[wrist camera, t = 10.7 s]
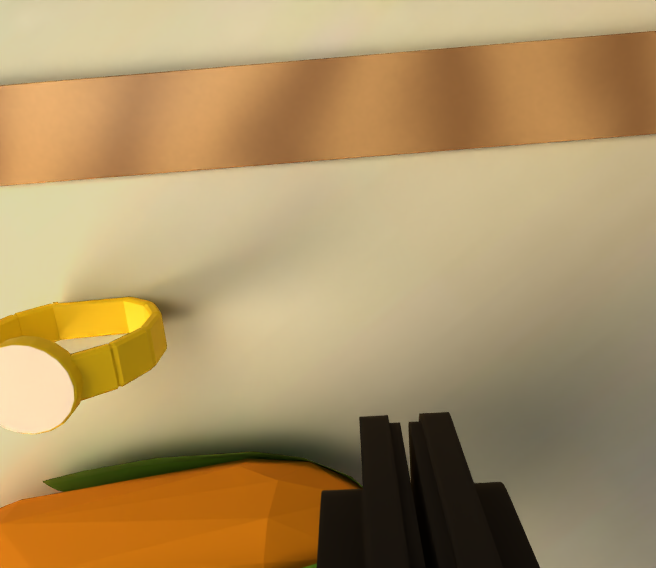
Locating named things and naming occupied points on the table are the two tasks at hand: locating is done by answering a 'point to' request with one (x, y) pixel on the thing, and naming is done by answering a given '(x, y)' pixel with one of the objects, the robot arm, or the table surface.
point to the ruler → (329, 108)
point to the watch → (72, 357)
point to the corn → (175, 515)
